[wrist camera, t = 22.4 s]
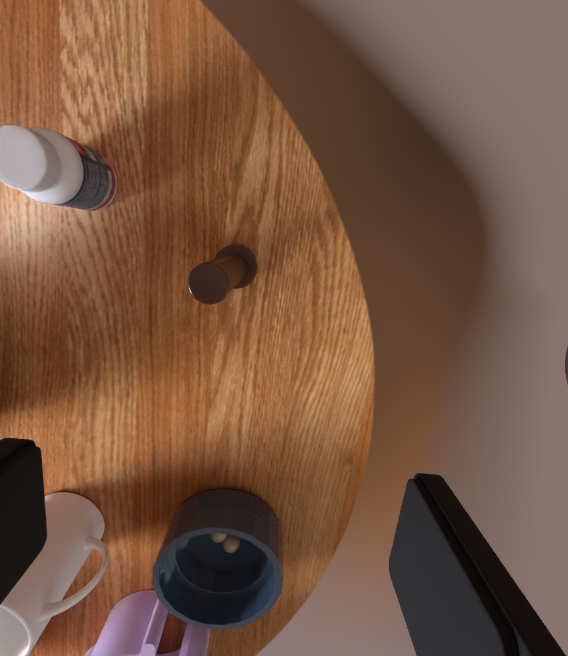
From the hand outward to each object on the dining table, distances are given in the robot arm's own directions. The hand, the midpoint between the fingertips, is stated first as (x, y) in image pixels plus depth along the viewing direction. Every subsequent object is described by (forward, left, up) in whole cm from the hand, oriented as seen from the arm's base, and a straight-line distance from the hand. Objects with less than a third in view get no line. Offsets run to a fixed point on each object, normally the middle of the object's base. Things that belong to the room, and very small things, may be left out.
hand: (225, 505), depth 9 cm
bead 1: (+3, +26, -25) cm, 36 cm away
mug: (+19, +28, -26) cm, 43 cm away
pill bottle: (+17, -10, -26) cm, 33 cm away
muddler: (+3, -4, -26) cm, 27 cm away
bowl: (+2, +28, -26) cm, 38 cm away
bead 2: (+1, +28, -25) cm, 37 cm away
